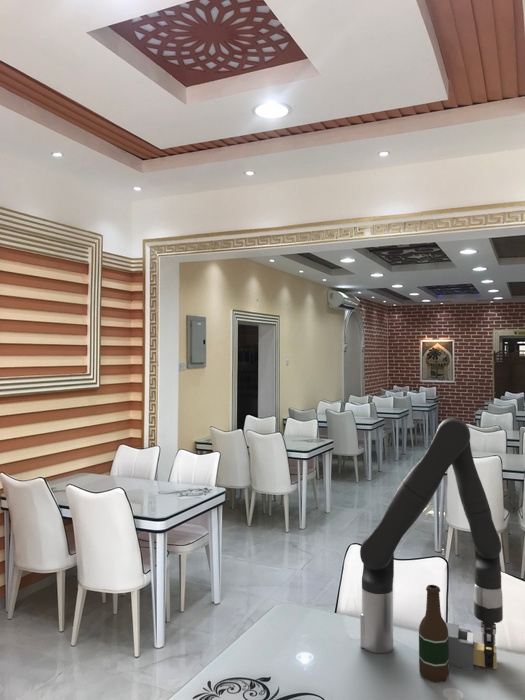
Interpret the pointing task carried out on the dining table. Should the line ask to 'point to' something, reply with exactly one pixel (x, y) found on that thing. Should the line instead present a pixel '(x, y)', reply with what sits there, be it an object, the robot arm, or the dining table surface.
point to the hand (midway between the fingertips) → (488, 660)
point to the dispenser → (460, 646)
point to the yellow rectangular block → (482, 655)
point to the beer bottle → (433, 640)
